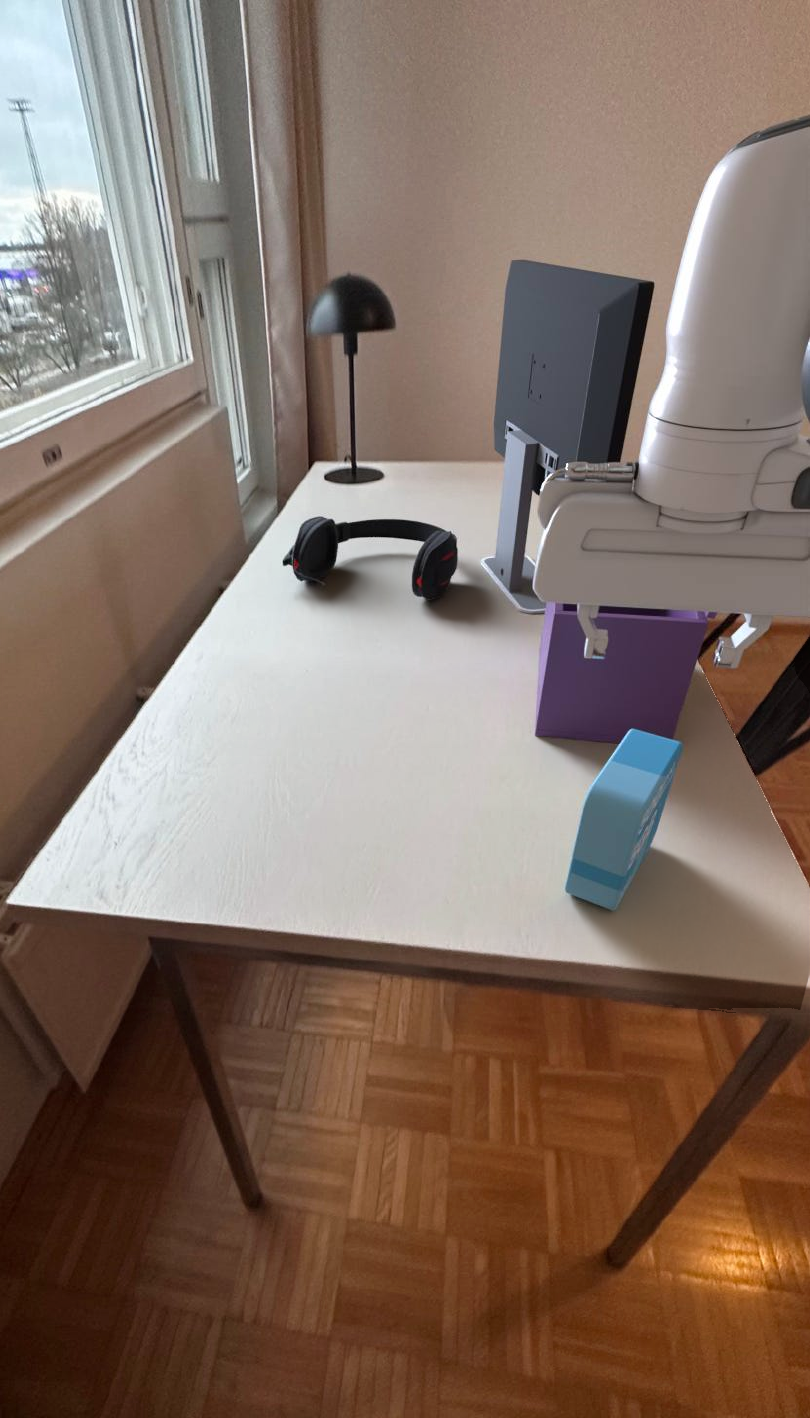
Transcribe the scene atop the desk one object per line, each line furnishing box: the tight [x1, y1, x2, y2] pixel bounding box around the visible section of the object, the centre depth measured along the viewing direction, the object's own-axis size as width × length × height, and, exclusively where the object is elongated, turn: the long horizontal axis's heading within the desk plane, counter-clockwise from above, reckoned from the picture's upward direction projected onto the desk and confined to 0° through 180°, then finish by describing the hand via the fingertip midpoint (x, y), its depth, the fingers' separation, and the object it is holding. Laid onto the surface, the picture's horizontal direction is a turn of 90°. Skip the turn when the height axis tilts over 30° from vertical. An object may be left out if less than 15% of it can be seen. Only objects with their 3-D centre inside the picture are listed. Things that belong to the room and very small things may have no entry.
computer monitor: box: [480, 259, 655, 615], centre depth 105 cm, size 41×8×40 cm, turn 9°
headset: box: [282, 515, 459, 601], centre depth 118 cm, size 28×26×9 cm
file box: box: [534, 603, 709, 744], centre depth 86 cm, size 15×22×15 cm
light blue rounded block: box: [564, 729, 684, 911], centre depth 64 cm, size 12×4×12 cm, turn 146°
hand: (657, 660), depth 56 cm, fingers open, 8 cm apart
